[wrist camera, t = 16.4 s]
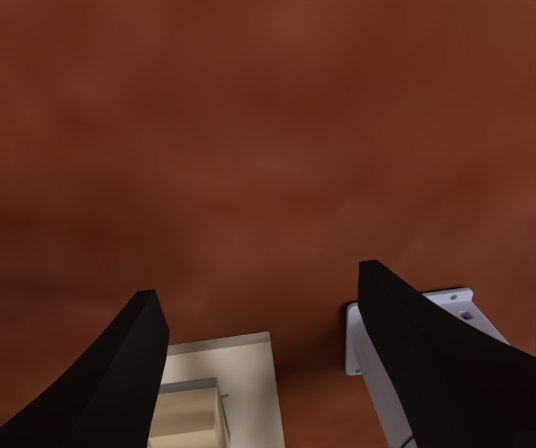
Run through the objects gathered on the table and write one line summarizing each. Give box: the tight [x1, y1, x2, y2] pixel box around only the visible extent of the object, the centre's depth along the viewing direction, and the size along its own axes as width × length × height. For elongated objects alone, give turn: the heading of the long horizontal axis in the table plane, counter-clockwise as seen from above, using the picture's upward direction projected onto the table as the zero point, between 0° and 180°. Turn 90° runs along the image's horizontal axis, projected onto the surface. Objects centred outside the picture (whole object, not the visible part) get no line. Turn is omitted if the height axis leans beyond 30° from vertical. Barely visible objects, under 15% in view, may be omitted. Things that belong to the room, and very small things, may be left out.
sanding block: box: [148, 378, 230, 448], centre depth 27 cm, size 8×4×4 cm, turn 5°
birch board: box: [147, 332, 285, 448], centre depth 31 cm, size 14×22×1 cm, turn 6°
